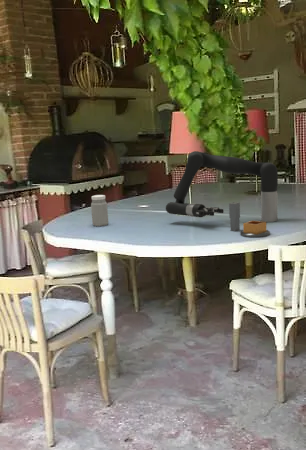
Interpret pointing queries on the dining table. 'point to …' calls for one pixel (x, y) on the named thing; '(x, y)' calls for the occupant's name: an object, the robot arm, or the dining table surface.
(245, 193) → the dining table surface
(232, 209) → the grey tall block
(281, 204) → the dining table surface
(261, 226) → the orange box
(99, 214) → the jar
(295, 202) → the dining table surface
